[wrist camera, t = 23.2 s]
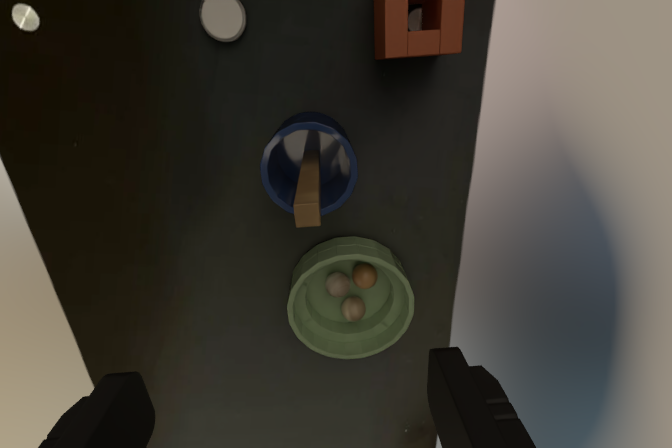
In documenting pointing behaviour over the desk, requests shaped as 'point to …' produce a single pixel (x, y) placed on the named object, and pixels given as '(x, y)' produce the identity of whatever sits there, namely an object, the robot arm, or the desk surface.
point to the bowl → (325, 310)
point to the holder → (434, 38)
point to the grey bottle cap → (223, 19)
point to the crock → (287, 156)
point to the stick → (308, 191)
